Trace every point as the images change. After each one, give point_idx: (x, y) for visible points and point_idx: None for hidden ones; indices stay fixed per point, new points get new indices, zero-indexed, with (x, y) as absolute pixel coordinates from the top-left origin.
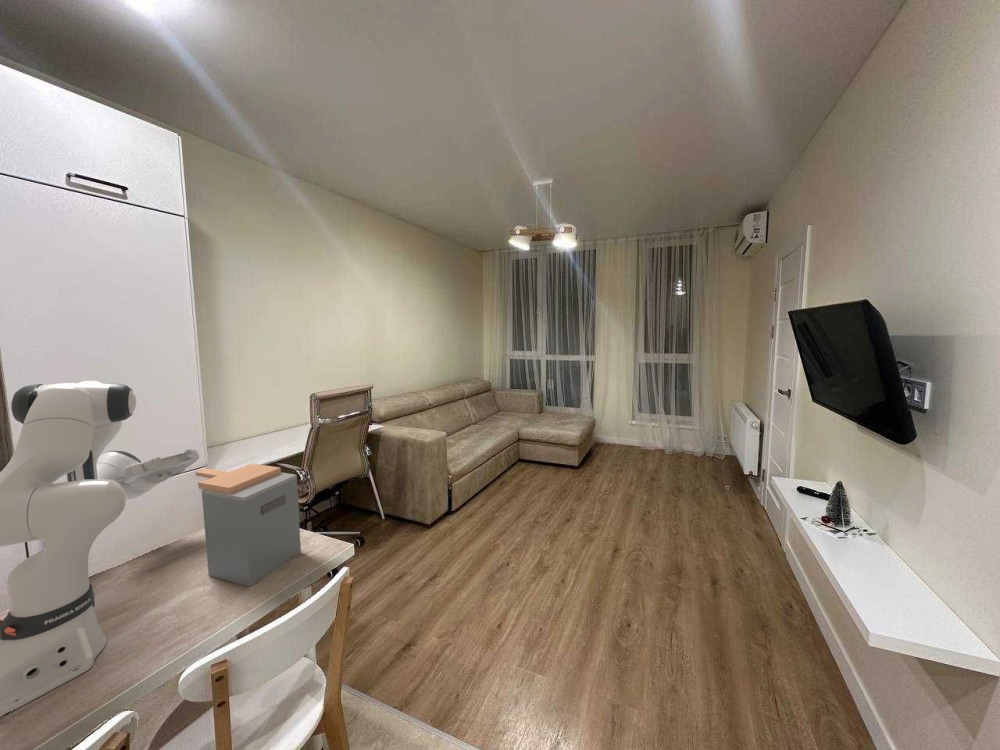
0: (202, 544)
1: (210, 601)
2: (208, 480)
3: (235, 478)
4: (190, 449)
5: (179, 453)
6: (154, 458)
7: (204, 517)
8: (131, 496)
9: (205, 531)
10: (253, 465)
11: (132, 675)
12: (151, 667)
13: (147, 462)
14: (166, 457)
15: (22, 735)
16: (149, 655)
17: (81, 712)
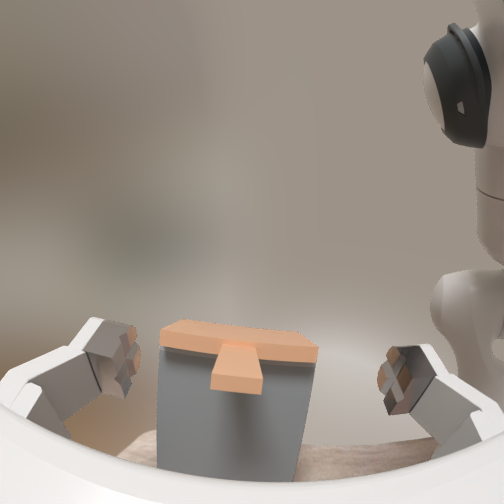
0: None
1: (317, 474)
2: (298, 343)
3: (261, 333)
4: (108, 320)
5: (41, 427)
6: (425, 344)
7: (305, 419)
8: None
9: (299, 447)
10: (175, 328)
11: (397, 447)
12: (385, 446)
13: (472, 395)
14: (256, 485)
15: None
16: (385, 454)
17: (423, 440)
